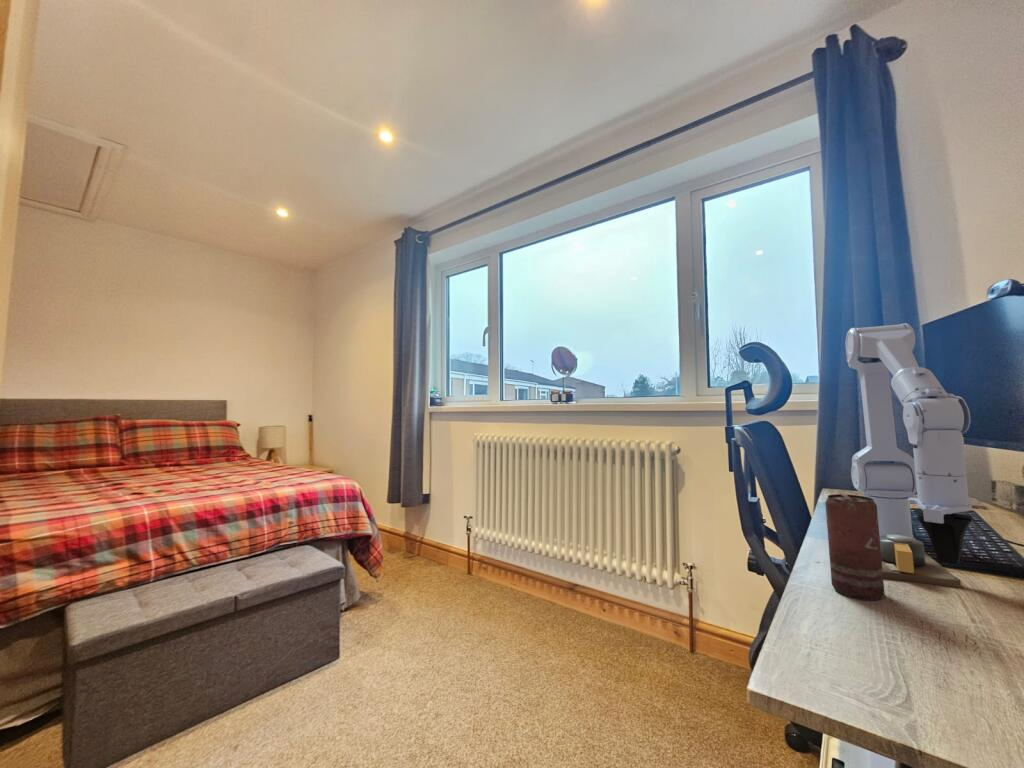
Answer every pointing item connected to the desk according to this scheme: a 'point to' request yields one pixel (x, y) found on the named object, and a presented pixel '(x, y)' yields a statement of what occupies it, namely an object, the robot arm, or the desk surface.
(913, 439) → the robot arm
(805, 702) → the desk surface
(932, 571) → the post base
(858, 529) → the can
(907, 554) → the toy saucepan
